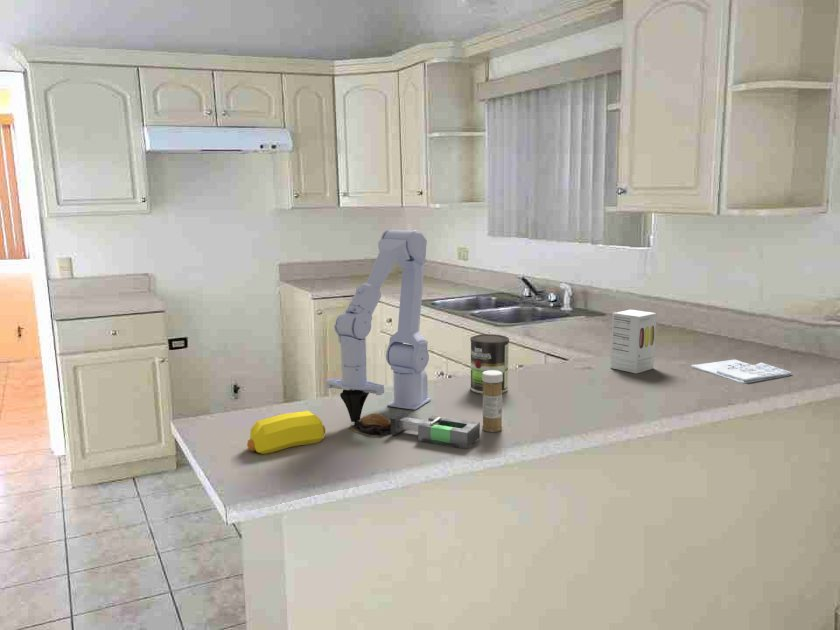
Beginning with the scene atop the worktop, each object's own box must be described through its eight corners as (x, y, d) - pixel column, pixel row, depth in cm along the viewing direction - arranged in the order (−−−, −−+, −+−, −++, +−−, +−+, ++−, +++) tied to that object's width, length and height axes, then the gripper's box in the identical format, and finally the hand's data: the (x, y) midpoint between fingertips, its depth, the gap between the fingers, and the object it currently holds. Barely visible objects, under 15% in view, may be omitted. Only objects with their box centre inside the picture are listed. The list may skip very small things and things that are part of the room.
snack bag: (743, 386, 199) (744, 378, 199) (688, 368, 217) (689, 361, 217) (793, 377, 207) (793, 370, 206) (736, 361, 225) (736, 354, 225)
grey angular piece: (403, 426, 168) (402, 410, 167) (443, 432, 163) (443, 416, 163) (390, 434, 163) (390, 418, 162) (432, 441, 158) (432, 424, 157)
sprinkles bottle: (490, 424, 169) (490, 368, 166) (506, 429, 166) (506, 371, 163) (478, 429, 166) (478, 372, 163) (494, 434, 163) (494, 376, 160)
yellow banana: (333, 442, 160) (318, 432, 166) (332, 412, 159) (317, 403, 165) (254, 459, 150) (241, 448, 157) (252, 428, 149) (239, 418, 155)
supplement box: (636, 374, 210) (639, 316, 207) (609, 368, 217) (611, 312, 214) (654, 368, 216) (657, 312, 213) (627, 362, 223) (629, 308, 220)
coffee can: (493, 396, 190) (493, 344, 188) (462, 389, 197) (462, 338, 195) (516, 388, 198) (516, 337, 195) (486, 381, 205) (486, 332, 202)
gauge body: (432, 430, 165) (432, 415, 165) (479, 438, 160) (479, 422, 160) (418, 441, 159) (418, 425, 158) (467, 449, 154) (467, 432, 153)
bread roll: (345, 431, 168) (345, 415, 167) (371, 421, 174) (371, 406, 173) (379, 441, 161) (378, 425, 160) (404, 430, 167) (404, 415, 166)
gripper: (317, 364, 167) (319, 421, 169) (372, 371, 161) (374, 430, 163) (334, 358, 173) (336, 412, 176) (388, 364, 167) (389, 420, 169)
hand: (355, 420), depth 170 cm, fingers closed
